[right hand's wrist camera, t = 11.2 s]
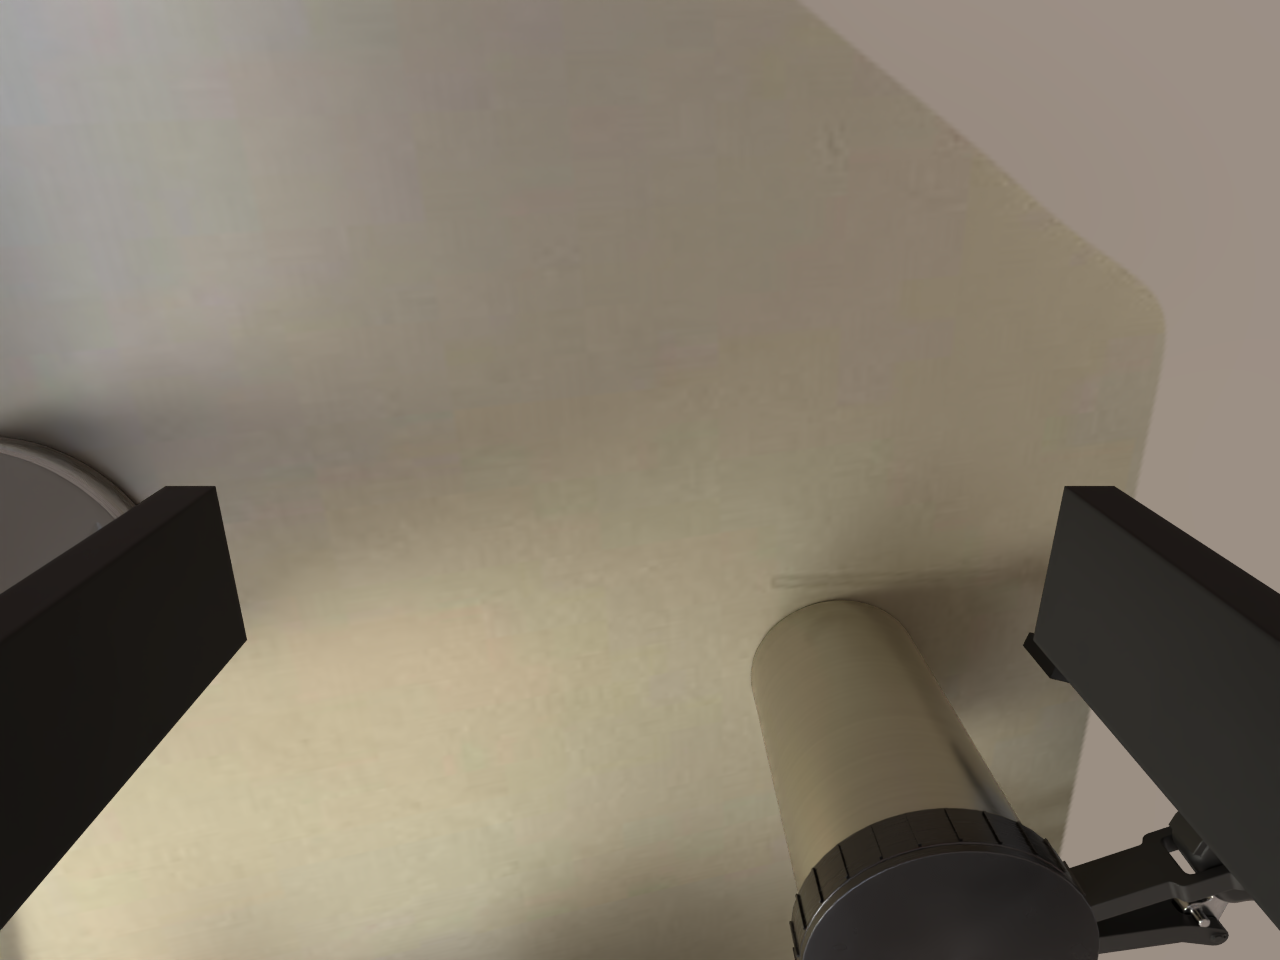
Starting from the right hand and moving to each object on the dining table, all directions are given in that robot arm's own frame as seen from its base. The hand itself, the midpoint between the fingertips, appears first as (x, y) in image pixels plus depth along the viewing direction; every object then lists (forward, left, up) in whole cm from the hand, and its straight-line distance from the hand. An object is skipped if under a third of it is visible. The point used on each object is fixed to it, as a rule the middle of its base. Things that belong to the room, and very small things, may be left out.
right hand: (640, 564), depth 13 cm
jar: (-12, -20, -27) cm, 36 cm away
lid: (-12, -20, -9) cm, 25 cm away
